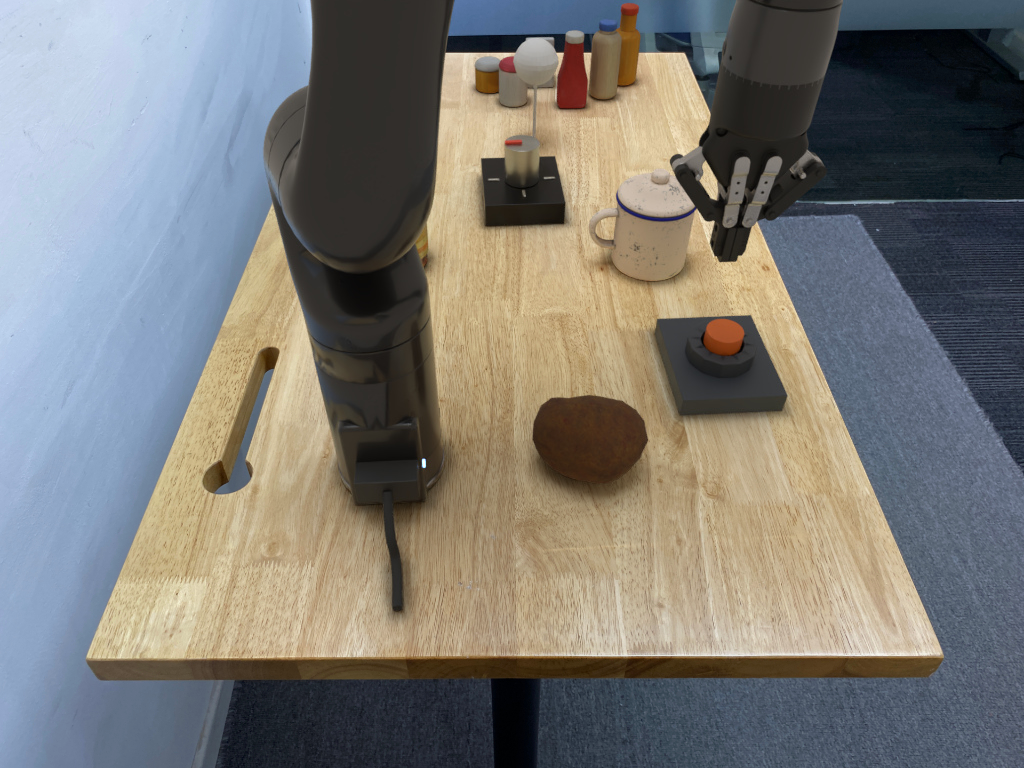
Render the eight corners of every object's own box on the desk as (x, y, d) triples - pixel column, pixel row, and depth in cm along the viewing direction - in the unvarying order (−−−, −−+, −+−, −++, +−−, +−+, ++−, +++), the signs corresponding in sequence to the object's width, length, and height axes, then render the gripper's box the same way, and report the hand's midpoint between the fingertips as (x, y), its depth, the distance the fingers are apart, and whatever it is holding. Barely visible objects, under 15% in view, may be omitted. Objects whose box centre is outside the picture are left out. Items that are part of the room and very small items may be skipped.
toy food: (632, 74, 130) (641, -1, 122) (645, 108, 121) (656, 28, 113) (474, 77, 129) (472, 1, 121) (476, 111, 120) (473, 31, 112)
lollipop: (562, 142, 113) (567, 37, 102) (541, 159, 109) (545, 51, 99) (526, 132, 115) (528, 27, 105) (505, 147, 112) (504, 41, 101)
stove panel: (564, 223, 97) (565, 201, 95) (485, 226, 97) (484, 204, 95) (554, 175, 106) (555, 154, 104) (481, 178, 105) (480, 156, 103)
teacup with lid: (674, 237, 95) (690, 149, 87) (695, 281, 89) (714, 191, 81) (578, 243, 94) (585, 155, 86) (593, 288, 88) (602, 197, 80)
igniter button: (745, 355, 74) (749, 341, 73) (708, 357, 74) (711, 343, 73) (734, 331, 77) (738, 317, 76) (699, 332, 77) (702, 319, 75)
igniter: (782, 411, 74) (792, 381, 71) (679, 416, 73) (686, 386, 71) (746, 330, 82) (754, 301, 80) (654, 334, 82) (659, 305, 79)
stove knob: (536, 169, 101) (537, 131, 97) (541, 186, 98) (542, 148, 94) (502, 171, 101) (502, 133, 97) (506, 188, 97) (506, 150, 94)
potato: (532, 434, 72) (534, 372, 66) (637, 437, 71) (648, 375, 66) (531, 498, 66) (533, 436, 61) (645, 501, 66) (657, 440, 61)
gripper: (697, 82, 53) (660, 284, 66) (882, 80, 54) (811, 280, 66) (674, 41, 59) (643, 235, 71) (842, 40, 60) (784, 232, 72)
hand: (725, 256), depth 69 cm, fingers closed
